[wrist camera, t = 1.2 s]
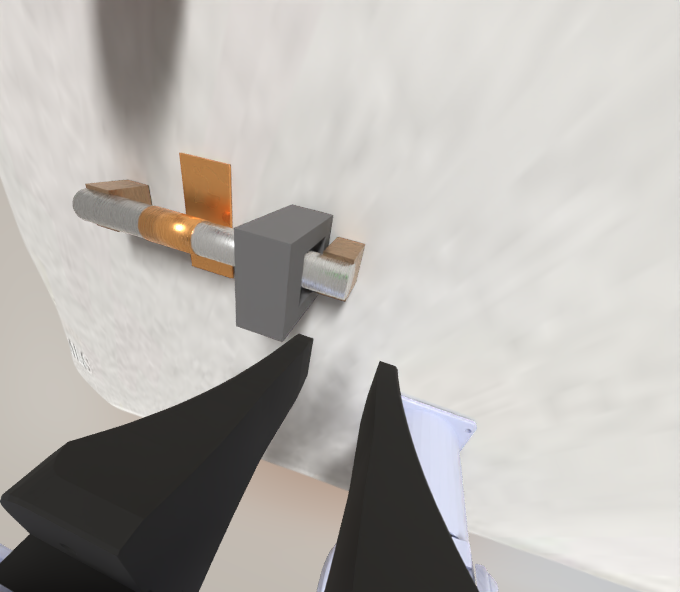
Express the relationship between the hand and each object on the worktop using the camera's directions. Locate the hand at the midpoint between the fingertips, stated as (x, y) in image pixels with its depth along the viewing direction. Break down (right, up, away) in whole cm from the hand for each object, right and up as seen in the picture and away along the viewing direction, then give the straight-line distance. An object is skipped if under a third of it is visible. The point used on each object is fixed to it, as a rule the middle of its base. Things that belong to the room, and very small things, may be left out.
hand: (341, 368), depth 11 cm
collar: (-2, +6, +10) cm, 12 cm away
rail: (-8, +8, +11) cm, 16 cm away
